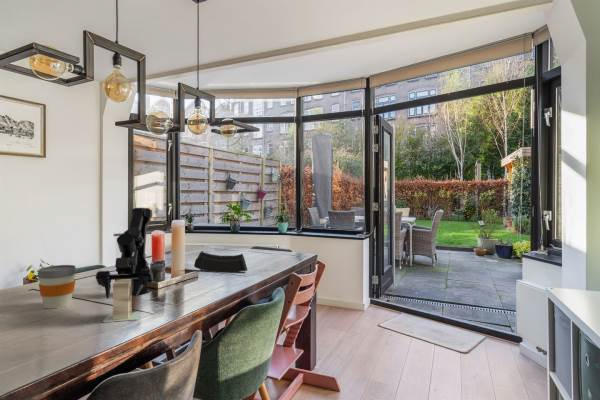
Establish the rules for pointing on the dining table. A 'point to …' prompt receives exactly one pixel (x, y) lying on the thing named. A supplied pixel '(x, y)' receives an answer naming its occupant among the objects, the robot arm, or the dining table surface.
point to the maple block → (122, 299)
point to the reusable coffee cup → (57, 285)
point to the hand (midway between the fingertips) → (121, 297)
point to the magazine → (220, 263)
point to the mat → (132, 317)
